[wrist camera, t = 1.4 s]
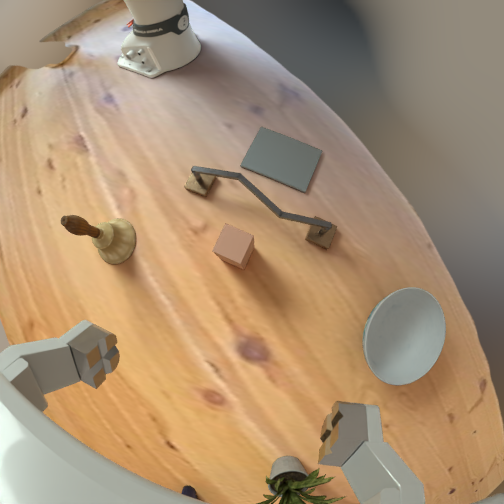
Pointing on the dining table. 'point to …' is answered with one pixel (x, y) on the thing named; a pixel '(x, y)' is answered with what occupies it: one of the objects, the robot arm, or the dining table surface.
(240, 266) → the brick block
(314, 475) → the house plant
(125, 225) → the hand bell
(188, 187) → the zigzag wire
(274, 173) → the slate tile
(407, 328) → the chinaware
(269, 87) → the dining table surface
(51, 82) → the dining table surface
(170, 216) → the dining table surface
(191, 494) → the flask
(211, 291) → the dining table surface
